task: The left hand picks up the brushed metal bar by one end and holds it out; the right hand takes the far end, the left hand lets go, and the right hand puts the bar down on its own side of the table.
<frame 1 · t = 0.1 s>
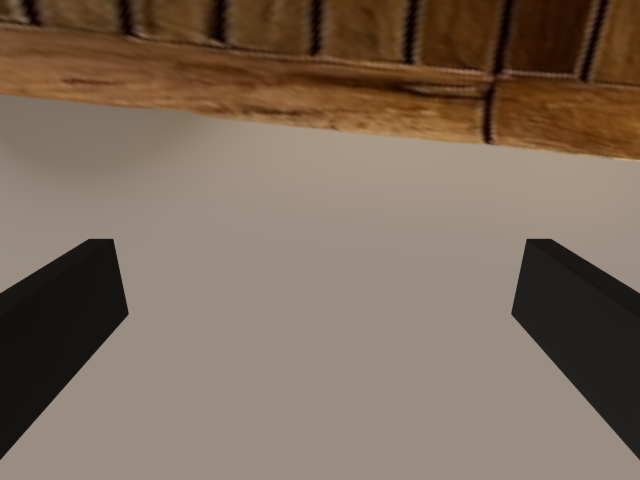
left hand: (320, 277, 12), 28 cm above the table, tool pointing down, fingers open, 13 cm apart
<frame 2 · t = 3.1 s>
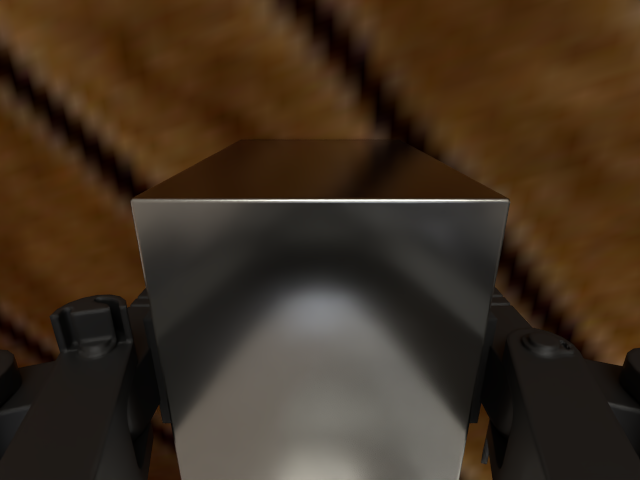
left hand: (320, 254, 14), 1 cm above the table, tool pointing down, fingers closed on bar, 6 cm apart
bar: (320, 394, 17), on the table, touching left hand
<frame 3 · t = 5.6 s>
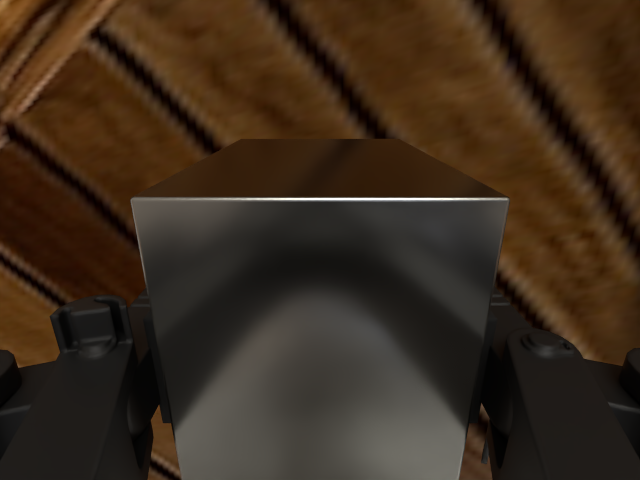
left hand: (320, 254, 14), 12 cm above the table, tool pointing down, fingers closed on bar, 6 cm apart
bar: (320, 394, 17), point 11 cm above the table, touching left hand
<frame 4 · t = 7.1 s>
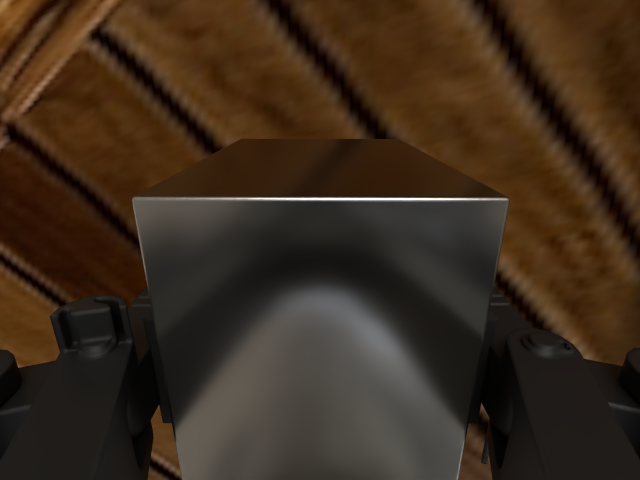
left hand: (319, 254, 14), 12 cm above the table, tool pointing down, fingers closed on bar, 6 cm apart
bar: (319, 393, 17), point 11 cm above the table, touching left hand, right hand
when the left hand's fingers open (12 cm above the table, at t = 8.0 s): bar stays where it is, held by the right hand.
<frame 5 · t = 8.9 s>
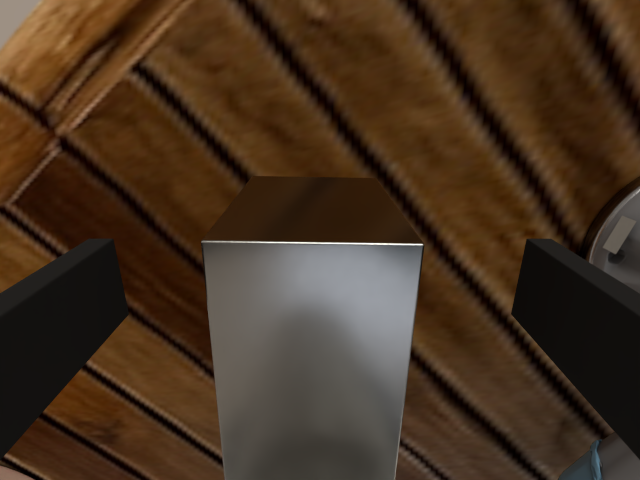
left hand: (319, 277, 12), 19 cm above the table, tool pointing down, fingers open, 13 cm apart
bar: (311, 377, 21), point 13 cm above the table, touching right hand
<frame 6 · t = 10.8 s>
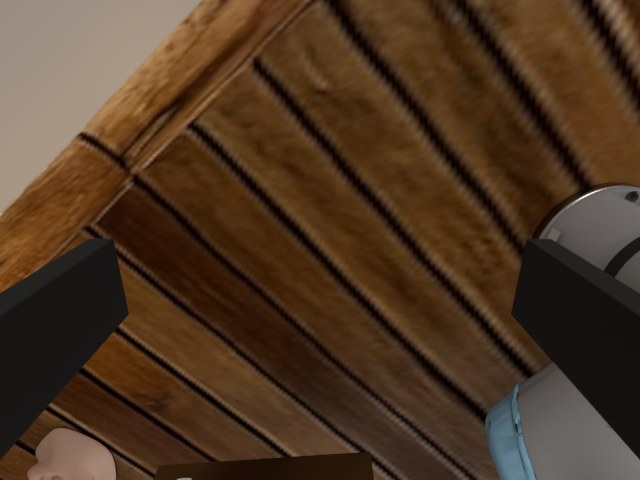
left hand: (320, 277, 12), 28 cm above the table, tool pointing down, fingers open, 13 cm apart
bar: (267, 476, 41), point 10 cm above the table, touching right hand
anatomical model: (78, 463, 54), on the table
when the right hand's fingers open (4 cm above the table, at t = 12.1 s): bar stays where it is, on the table.
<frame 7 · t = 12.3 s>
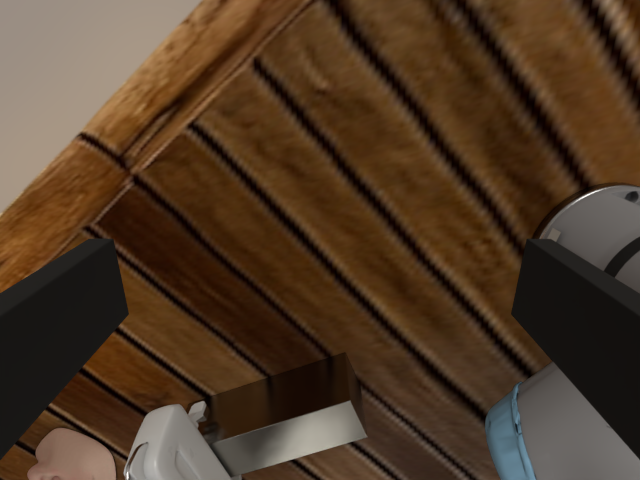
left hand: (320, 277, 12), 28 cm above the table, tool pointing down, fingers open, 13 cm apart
bar: (273, 394, 50), on the table
anatomical model: (78, 463, 54), on the table
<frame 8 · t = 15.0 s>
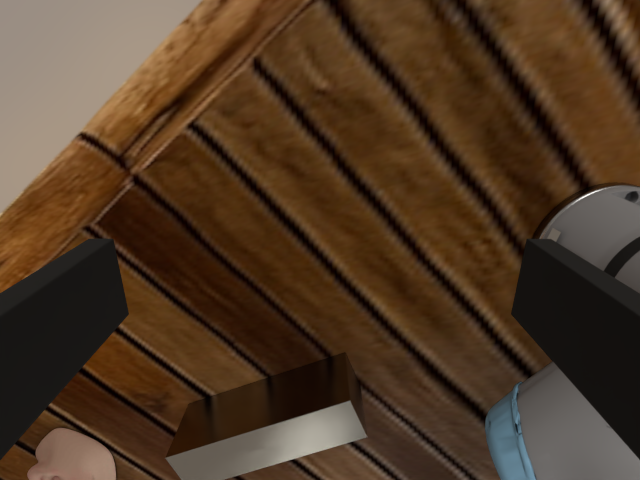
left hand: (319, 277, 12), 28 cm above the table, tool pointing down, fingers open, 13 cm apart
bar: (273, 394, 50), on the table
anatomical model: (78, 463, 54), on the table
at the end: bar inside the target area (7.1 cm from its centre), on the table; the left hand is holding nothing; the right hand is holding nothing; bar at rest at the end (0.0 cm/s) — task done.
